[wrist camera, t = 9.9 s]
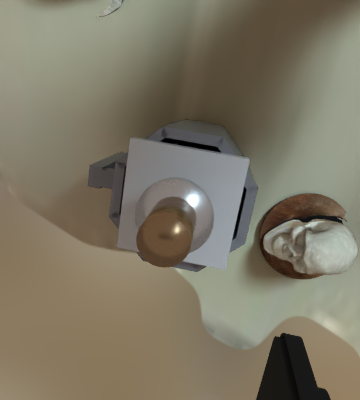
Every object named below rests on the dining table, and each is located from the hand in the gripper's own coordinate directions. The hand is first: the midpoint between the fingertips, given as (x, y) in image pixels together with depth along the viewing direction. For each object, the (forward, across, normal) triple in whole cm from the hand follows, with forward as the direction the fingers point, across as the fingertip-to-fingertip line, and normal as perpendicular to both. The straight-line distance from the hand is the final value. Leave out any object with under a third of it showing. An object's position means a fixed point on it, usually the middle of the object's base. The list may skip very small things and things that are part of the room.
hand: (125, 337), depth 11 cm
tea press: (+36, +2, +1) cm, 36 cm away
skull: (+36, -15, +8) cm, 40 cm away
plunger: (+32, +1, +1) cm, 32 cm away
